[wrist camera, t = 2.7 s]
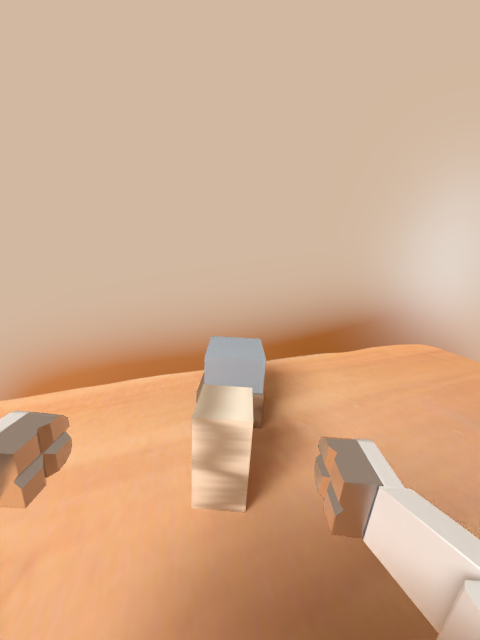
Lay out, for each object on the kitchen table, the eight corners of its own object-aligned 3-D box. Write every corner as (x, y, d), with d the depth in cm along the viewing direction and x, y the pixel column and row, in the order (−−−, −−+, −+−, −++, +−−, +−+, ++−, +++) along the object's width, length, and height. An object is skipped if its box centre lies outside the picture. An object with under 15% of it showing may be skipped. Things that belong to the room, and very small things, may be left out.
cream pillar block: (245, 465, 27) (252, 387, 24) (245, 512, 22) (253, 421, 19) (201, 462, 27) (203, 384, 24) (191, 508, 22) (192, 417, 19)
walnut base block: (258, 392, 41) (260, 366, 40) (261, 429, 32) (264, 398, 31) (206, 388, 41) (207, 362, 40) (196, 424, 33) (196, 393, 31)
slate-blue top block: (257, 366, 40) (260, 338, 38) (262, 393, 32) (266, 359, 31) (210, 364, 39) (211, 336, 38) (204, 390, 32) (204, 356, 30)
